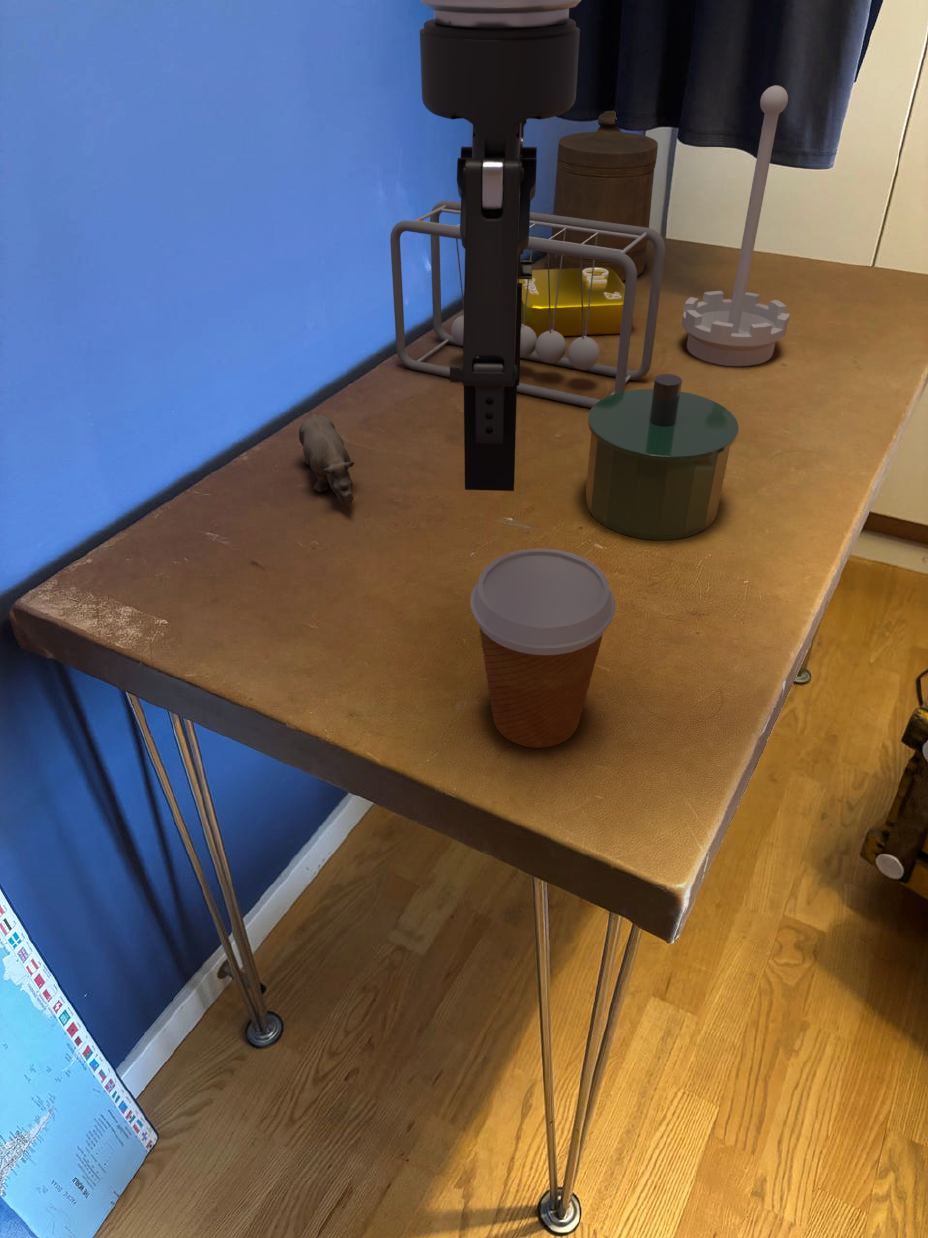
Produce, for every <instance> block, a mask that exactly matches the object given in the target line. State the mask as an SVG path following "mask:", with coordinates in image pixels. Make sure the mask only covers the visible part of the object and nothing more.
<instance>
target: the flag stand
mask: <svg viewBox="0 0 928 1238" xmlns="http://www.w3.org/2000/svg"><path fill="white" fill-rule="evenodd" d="M788 95H789V94H788V93H787V90H786V89H785V88H784V87H782V86H781V85H772V86H769V87H767V88H766V89H765V91H763V93H762V94H761V97H760V101H759V106H760V109H761V111H762V112H763V113H764V115H763V121H762V126H761V128H760V132H761V133H760V137H759V143H758V149H757V155H756V160H755V165H754V166H755V167H754V172H753V177H752V184H751V188H750V193H749V194H750V195H749V200H748V206H747V212H746V217H745V218H746V219H745V222H744V229H743V235H742V241H741V245H740V251H739V257H738V264H737V268H736V274H735V279H734V285H733V292H732V296H731V299H730V298H726V299H725V298H724V295H725V294H724V291H722V290H716V291H715V290H713V291H705V292H703V296H702V301H699V298H697V297H692V296H690V297H689V298H688V299H686V301H685V302H684V307H683V315H682V322H681V325H682V328H683V330H685V332H686V333H687V334H688V335H687V342H686V349H687V351H688V352H689V353H690V354H691V355H692V356H694V357H695V358H697V359H699V360H701V361H704V362H706V363H711V364H713V365H714V364H715V365H719V366H726V367H727V366H728V367H751V366H756V365H760V364H763V363H766V362H767V361H769V360H770V359H771V358H772V357H773V355H774V351H775V347H776V343H777V342H778V341H780V340H781V339H783V338H784V337H785V336H786V333H787V329H788V326H789V323H790V322H789V321H790V316H791V313H786V312H787V308H788V306H787V305H786V304H785V303H783V302H782V301H780V300H778V299H773V300H770V301H769V303H768V304H769V305H766V304H764V303H760V298H761V294H760V293H755V292H748V291H747V289H748V282H749V278H750V273H751V266H752V261H753V256H754V255H753V254H754V250H755V245H756V238H757V233H758V228H759V222H760V217H761V212H762V207H763V202H764V196H765V192H766V191H765V190H766V185H767V179H768V175H769V169H770V163H771V158H772V154H773V153H772V152H773V147H774V141H775V135H776V131H777V126H778V120H779V115H780V114H781V113H782V112H783V111H785V109H786V107H787V104H788V102H789V96H788Z"/></svg>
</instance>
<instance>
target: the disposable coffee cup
mask: <svg viewBox="0 0 928 1238" xmlns="http://www.w3.org/2000/svg"><path fill="white" fill-rule="evenodd" d="M609 585H610V584H609V580H608V579H607V577H606V574H605V573H604V572H603V571H602V570H601V568H599V567H598V566H597V565H596V564H595V563H593V562H592V561H590V560H588V559H586V558H585V557H583V556H580V555H579V554H575V553H572V552H570V551H566V550H561V549H554V548H546V547H545V548H524V549H519V550H514V551H511V552H508V553H505V554H503V555H501V556H499V557H497V558H495V559H494V560H492V561H491V562H489V563H488V564H487V565H486V566H485V567H484V568H483V569H482V571H481V573H480V574H479V576H478V579H477V582H476V583H475V585H474V586H473V588H472V591H471V593H470V597H469V598H470V602H469V603H470V605H469V606H470V607H469V608H470V611H471V614H472V616H473V618H474V620H475V622H476V625H478V627H479V634H480V641H481V647H482V654H483V661H484V667H485V674H486V680H487V685H488V686H487V688H488V693H489V699H490V706H491V712H492V720H493V723H494V726H495V728H496V729H497V731H498V732H499V733H500V735H502V736H503V737H504V738H505V739H507V740H508V741H510V742H512V743H514V744H516V745H519V746H523V747H526V748H534V749H536V748H537V749H540V748H549V747H554V746H557V745H560V744H562V743H564V742H566V741H567V740H568V739H570V738H571V737H572V736H573V735H574V733H575V732H576V731H577V729H578V726H579V724H580V719H581V715H582V710H583V708H584V705H585V700H586V697H587V693H588V690H589V687H590V684H591V679H592V676H593V672H594V669H595V665H596V661H597V658H598V654H599V650H600V647H601V643H602V640H603V636H604V633H605V632H606V630H607V629H608V628H609V626H610V624H611V623H612V622H613V619H614V616H615V613H616V600H615V597H614V594H613V591H612V590H611V588H610V586H609Z"/></svg>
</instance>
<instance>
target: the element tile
mask: <svg viewBox="0 0 928 1238" xmlns="http://www.w3.org/2000/svg"><path fill="white" fill-rule="evenodd" d="M592 268H593V267H592ZM592 268H582V291H583V326H584V336H585V330H586V321H587V312H588V303H589V295H590V286H591V277H592ZM559 271H560V269H551V268H549V275H550V312H551V330H552V327H553V319H554V311H555V303H556V295H557V287H558V279H559ZM527 282H528V279H519V283H522V310H521V323H522V324H523V319H524V310H525V301H526V292H527ZM517 283H518V281H517ZM624 293H625V284H624V281H621V279H620V278H619V277H618V275H617V274H616V272H615V271H613V270H612V269H610V268H608V267H594V272H593V280H592V289H591V298H590V307H589V315H588V324H587V333H586V336H600V335H602V336H603V335H604V336H605V335H620V332H621V322H622V313H623V303H624ZM524 325H525V326H528V327H530V328H531V329H532V330H533V331H534V332H535V334H536V337H537V338H538V337H539V336H540V335H541V334H543V333H544V332H547V331H550V324H549V289H548V268H547V269H532V279H529V285H528V295H527V304H526V313H525V322H524ZM554 331H556V332H558V333H560V334H561V335H562V336H563V337H579V336H580V337H582V305H581V271H580V268H568V269H561V274H560V282H559V290H558V298H557V306H556V314H555V322H554Z"/></svg>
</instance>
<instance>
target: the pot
mask: <svg viewBox="0 0 928 1238" xmlns="http://www.w3.org/2000/svg"><path fill="white" fill-rule="evenodd" d="M730 448H731V446H730V447H729V448H728V449H726V450H725V451H723V452H721V453H719V454H716V455H714V456H711V457H707V458H703V459H697V460H690V461H658V460H650V459H643V458H639V457H634V456H631V455H627V454H624V453H622V452H619V451H616V450H614V449H612V448H610V447H608V446H606V445H605V444H603V443H602V442H600V441H599V440H598V439H597V438H596V437H595V436H594V435H593V434H592V432H591V431H590V443H589V454H588V455H589V456H588V464H587V465H588V467H587V477H586V487H585V488H586V489H585V499H586V507H587V509H588V511H589V513H590V515H592V517H593V518H594V519H595V520H596V521H597V522H598V523H599V524H601V525H603V526H604V527H606V528H607V529H609V530H612V531H614V532H616V533H620V534H622V535H624V536H628V537H632V538H637V539H642V540H651V541H669V540H678V539H685V538H688V537H691V536H692V537H693V536H694V535H697V534H699V533H701V532H703V531H705V530H707V528H708V527H710V526H711V525H712V523H713V522H714V521H715V519H716V516H717V514H718V510H719V505H720V501H721V495H722V490H723V485H724V479H725V474H726V470H727V463H728V459H729V453H730Z"/></svg>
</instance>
